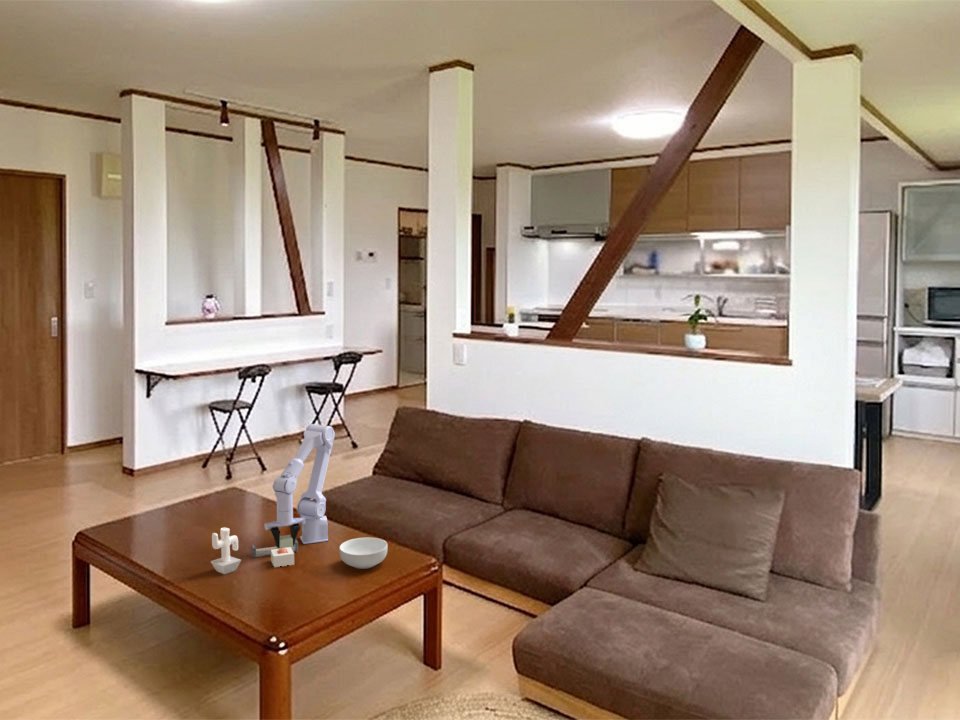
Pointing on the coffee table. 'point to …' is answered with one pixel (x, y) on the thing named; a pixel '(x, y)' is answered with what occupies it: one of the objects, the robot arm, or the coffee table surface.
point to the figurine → (225, 551)
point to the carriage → (286, 541)
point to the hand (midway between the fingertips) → (285, 545)
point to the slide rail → (269, 550)
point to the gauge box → (282, 557)
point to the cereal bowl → (363, 552)
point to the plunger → (282, 551)
